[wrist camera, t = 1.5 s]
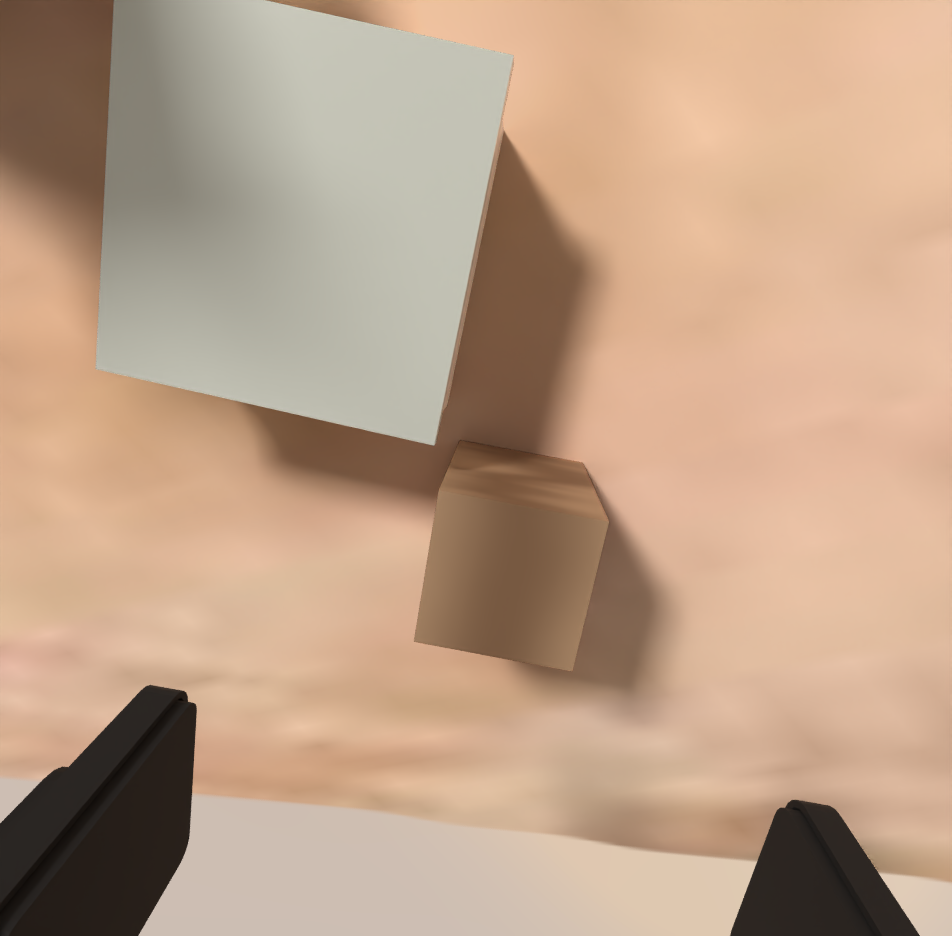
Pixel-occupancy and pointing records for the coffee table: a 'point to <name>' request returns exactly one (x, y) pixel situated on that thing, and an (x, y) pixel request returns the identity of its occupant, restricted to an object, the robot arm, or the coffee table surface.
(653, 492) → the coffee table surface
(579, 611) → the walnut block
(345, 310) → the pale grey box
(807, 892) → the robot arm
